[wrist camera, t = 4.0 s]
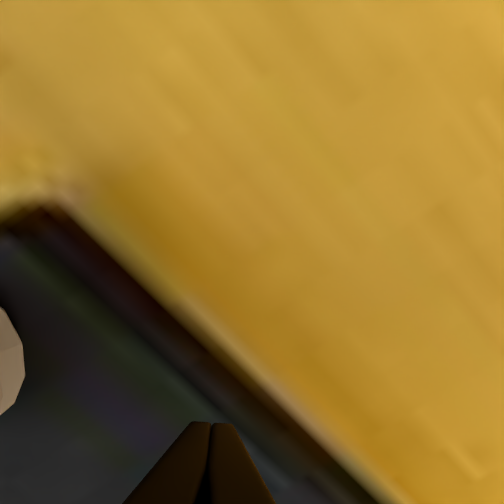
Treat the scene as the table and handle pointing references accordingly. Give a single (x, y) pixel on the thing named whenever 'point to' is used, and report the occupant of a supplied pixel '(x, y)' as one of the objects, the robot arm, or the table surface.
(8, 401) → the rook chess piece
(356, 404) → the table surface
